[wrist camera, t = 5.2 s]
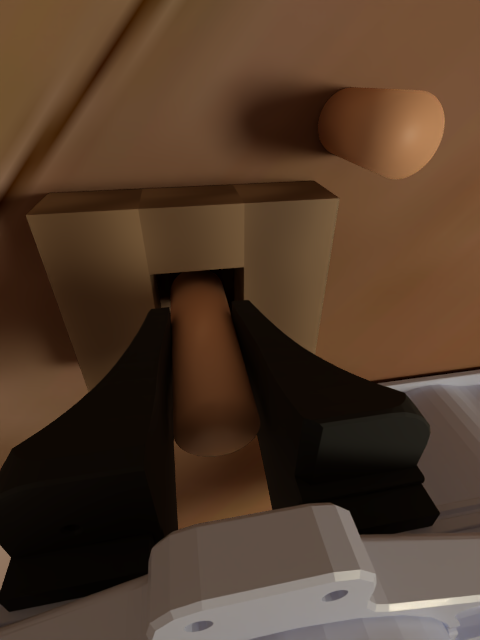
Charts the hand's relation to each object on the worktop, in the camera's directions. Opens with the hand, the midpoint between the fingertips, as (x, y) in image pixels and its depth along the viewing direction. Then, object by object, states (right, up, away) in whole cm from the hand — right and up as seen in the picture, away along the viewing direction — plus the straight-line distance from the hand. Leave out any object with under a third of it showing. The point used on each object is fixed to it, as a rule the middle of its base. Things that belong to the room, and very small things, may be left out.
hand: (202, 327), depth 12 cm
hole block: (-1, +2, +3) cm, 4 cm away
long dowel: (0, +1, +2) cm, 2 cm away
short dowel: (+5, +8, 0) cm, 9 cm away
